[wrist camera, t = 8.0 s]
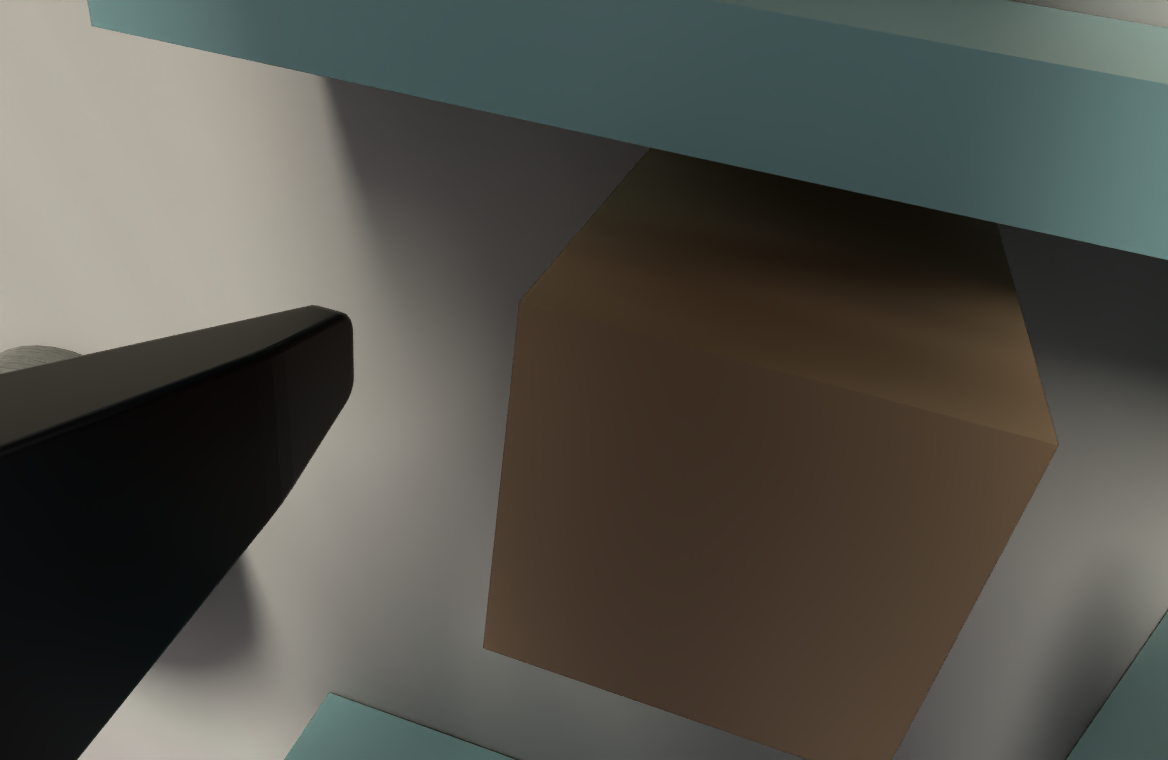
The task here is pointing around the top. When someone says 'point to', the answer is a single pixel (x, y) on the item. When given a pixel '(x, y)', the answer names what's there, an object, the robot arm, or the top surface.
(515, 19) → the parts bay
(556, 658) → the walnut block
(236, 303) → the top surface
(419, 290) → the top surface
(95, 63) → the top surface
